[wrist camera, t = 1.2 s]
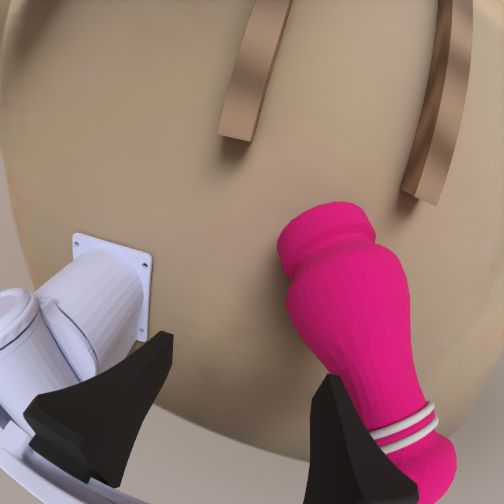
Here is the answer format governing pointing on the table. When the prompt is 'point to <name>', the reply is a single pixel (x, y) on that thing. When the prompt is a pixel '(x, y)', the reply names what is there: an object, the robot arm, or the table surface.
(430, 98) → the u rest
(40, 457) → the robot arm
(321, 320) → the pepper mill
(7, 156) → the table surface
